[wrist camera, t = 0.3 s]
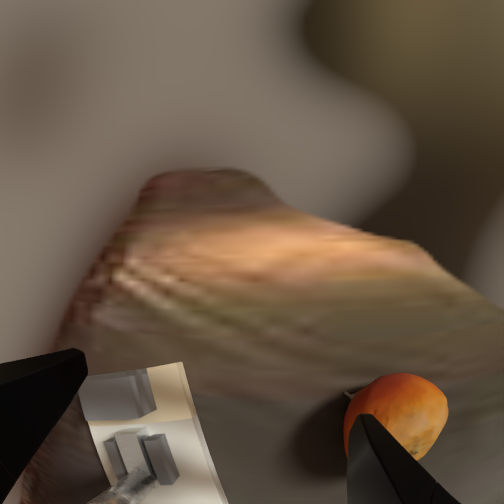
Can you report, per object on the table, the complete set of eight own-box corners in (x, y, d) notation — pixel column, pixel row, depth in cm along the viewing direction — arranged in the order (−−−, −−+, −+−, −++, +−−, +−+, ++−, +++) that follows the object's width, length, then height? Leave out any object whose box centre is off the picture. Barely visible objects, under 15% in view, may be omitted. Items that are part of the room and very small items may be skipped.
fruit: (400, 330, 20) (468, 381, 12) (408, 394, 22) (456, 443, 14) (309, 381, 19) (353, 458, 11) (332, 437, 21) (367, 501, 13)
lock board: (232, 513, 17) (224, 542, 12) (134, 513, 17) (112, 535, 12) (182, 361, 22) (159, 365, 17) (85, 376, 21) (52, 379, 17)
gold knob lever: (173, 485, 17) (92, 576, 4) (142, 486, 17) (50, 560, 4) (151, 426, 18) (36, 486, 6) (120, 428, 18) (1, 473, 6)
